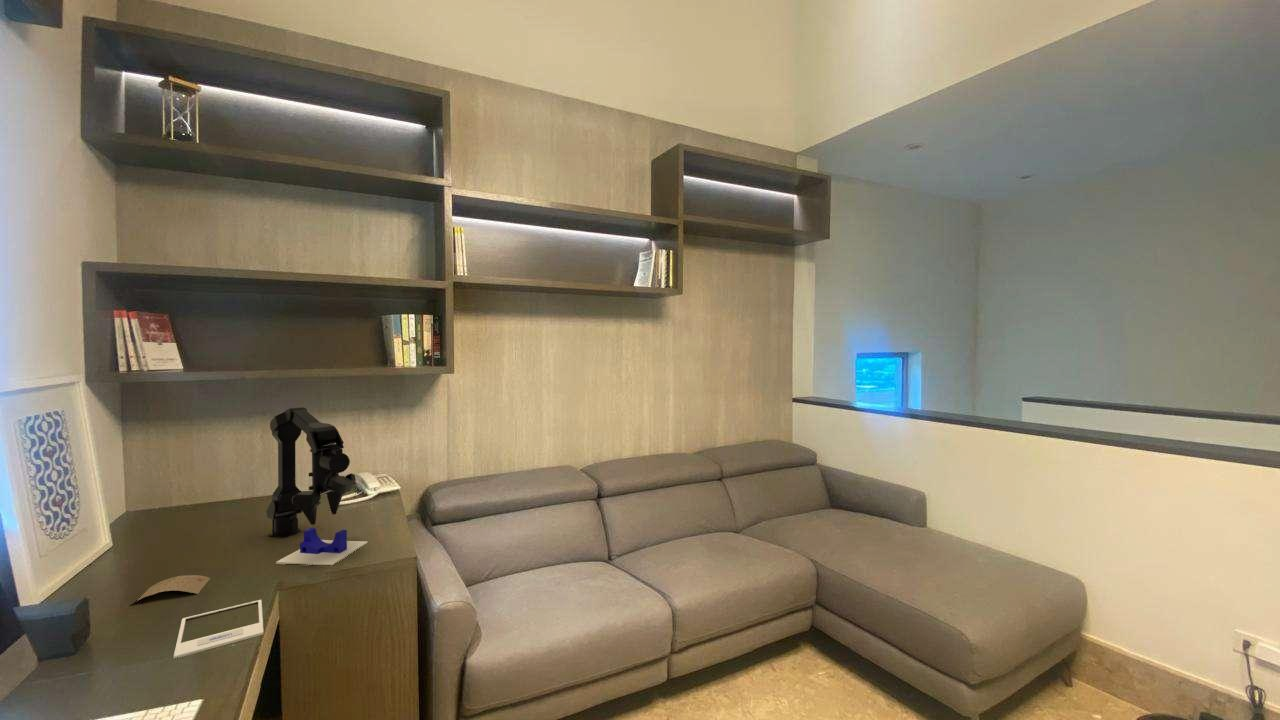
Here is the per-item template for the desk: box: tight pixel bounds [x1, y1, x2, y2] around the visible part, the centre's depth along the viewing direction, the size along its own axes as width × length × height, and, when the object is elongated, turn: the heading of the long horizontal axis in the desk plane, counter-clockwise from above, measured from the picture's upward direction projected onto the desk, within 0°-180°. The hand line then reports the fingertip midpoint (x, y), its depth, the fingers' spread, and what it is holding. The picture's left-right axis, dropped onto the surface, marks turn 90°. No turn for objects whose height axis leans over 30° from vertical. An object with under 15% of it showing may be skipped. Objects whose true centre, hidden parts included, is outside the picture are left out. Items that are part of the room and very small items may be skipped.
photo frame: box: [173, 599, 264, 660], centre depth 115 cm, size 15×1×18 cm
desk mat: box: [275, 539, 369, 566], centre depth 156 cm, size 17×17×1 cm
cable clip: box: [299, 527, 348, 554], centre depth 156 cm, size 12×4×6 cm, turn 82°
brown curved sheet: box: [133, 574, 211, 604], centre depth 131 cm, size 14×10×3 cm
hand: (323, 519), depth 155 cm, fingers open, 9 cm apart
